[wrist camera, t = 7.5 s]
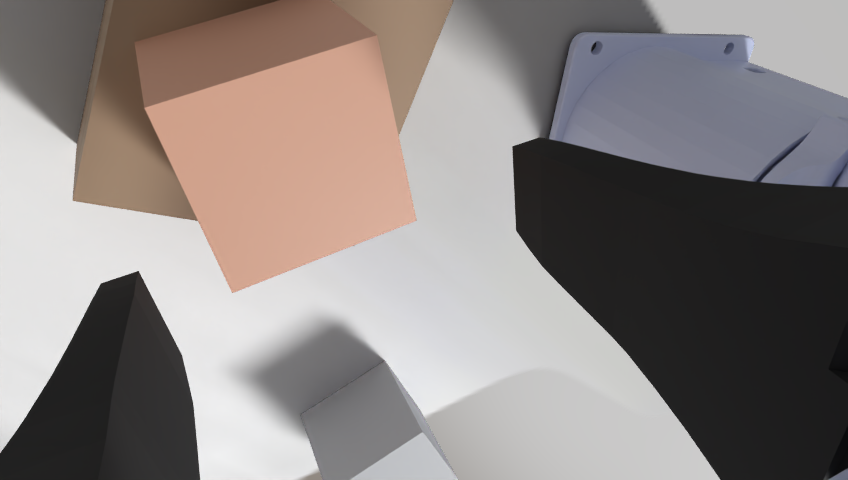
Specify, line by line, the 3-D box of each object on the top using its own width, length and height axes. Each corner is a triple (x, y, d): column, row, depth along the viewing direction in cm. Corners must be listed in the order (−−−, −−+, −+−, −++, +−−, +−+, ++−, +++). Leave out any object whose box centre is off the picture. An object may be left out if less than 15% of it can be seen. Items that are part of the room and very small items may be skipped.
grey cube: (384, 359, 29) (422, 431, 25) (419, 409, 32) (458, 480, 28) (300, 413, 28) (327, 494, 25) (343, 458, 31) (373, 536, 28)
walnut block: (399, -26, 20) (453, 0, 17) (320, 190, 23) (353, 245, 20) (133, -144, 16) (141, -137, 13) (77, 140, 19) (72, 200, 16)
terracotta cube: (315, -11, 16) (377, 34, 12) (357, 146, 18) (416, 220, 15) (134, 42, 15) (144, 107, 11) (206, 200, 17) (232, 292, 14)
